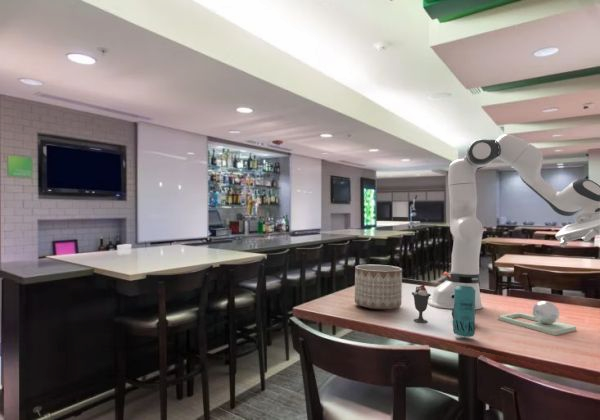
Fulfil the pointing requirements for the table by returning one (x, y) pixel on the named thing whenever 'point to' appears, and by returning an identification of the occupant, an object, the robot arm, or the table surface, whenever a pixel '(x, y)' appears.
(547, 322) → the steel ball
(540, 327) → the hole plate
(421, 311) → the sundae
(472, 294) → the beverage bottle
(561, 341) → the table surface
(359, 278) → the planter
